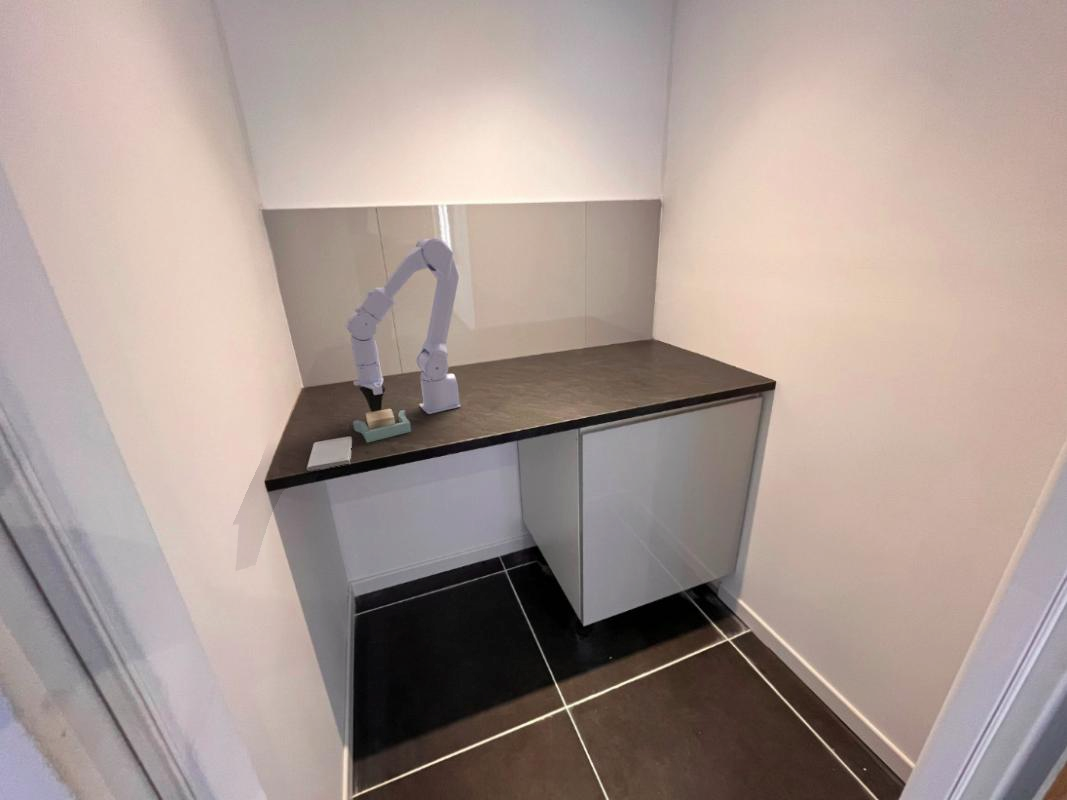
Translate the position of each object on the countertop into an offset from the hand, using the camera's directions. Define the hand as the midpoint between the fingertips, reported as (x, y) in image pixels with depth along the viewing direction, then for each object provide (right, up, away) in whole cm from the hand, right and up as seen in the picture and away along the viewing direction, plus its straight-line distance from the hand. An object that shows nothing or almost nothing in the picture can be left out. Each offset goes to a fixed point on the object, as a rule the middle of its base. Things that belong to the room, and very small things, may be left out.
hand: (376, 412), depth 109 cm
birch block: (+4, -5, -6) cm, 8 cm away
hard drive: (-4, -9, -17) cm, 20 cm away
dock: (+5, -4, -6) cm, 9 cm away
